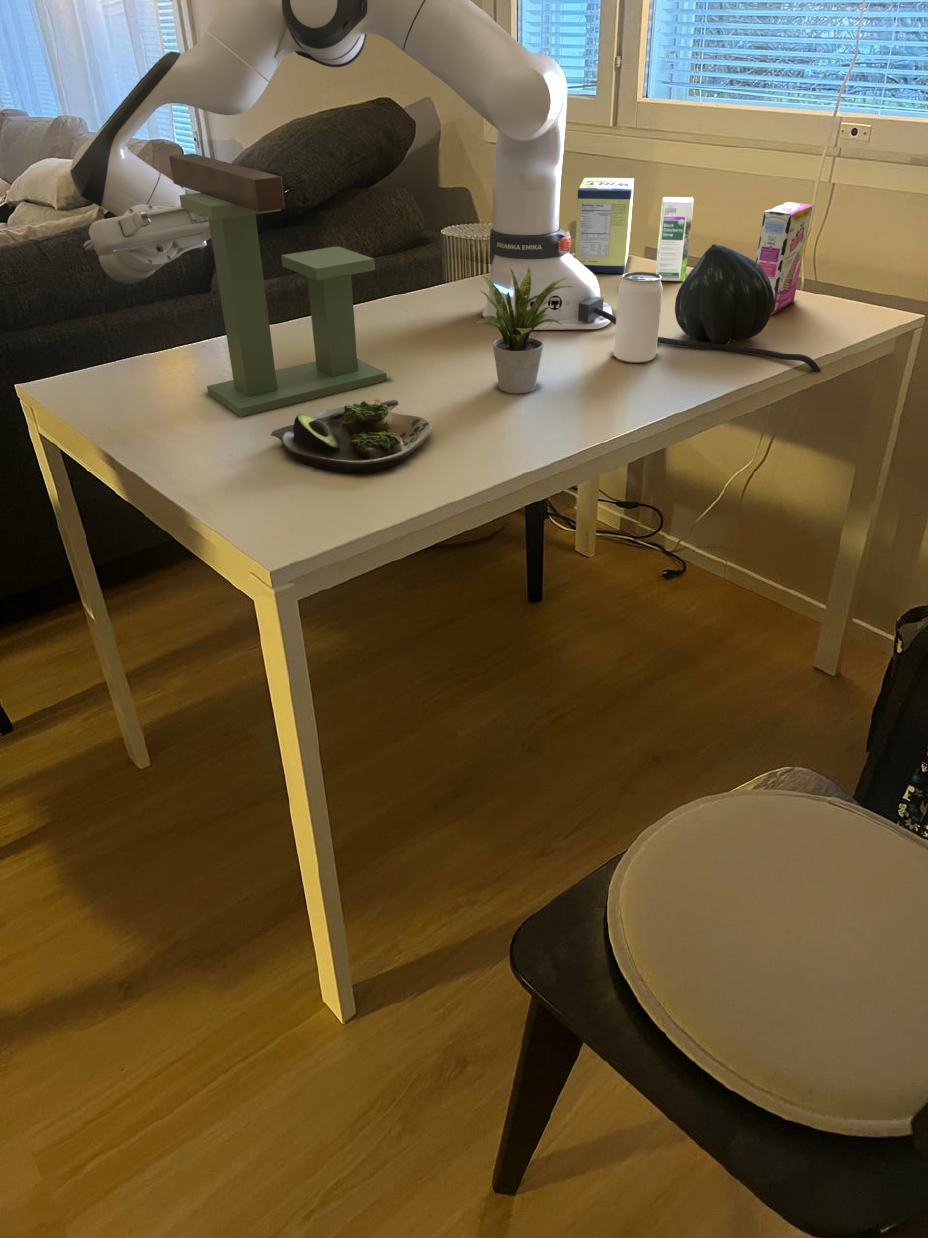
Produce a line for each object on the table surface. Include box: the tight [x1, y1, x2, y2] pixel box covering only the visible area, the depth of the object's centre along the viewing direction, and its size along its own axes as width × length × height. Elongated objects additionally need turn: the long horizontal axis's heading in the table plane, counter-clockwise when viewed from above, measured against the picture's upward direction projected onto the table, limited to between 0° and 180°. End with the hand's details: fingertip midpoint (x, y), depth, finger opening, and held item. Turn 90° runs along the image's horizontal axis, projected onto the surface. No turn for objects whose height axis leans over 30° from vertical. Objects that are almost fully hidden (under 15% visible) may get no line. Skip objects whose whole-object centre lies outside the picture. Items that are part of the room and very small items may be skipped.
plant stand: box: [179, 192, 388, 418], centre depth 125 cm, size 11×23×26 cm, turn 126°
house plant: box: [474, 268, 571, 394], centre depth 126 cm, size 14×14×16 cm
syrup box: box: [654, 196, 694, 282], centre depth 178 cm, size 6×6×14 cm
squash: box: [674, 243, 774, 344], centre depth 146 cm, size 14×15×15 cm
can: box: [613, 271, 664, 364], centre depth 139 cm, size 6×6×12 cm
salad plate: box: [270, 399, 433, 474], centre depth 115 cm, size 19×18×5 cm
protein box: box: [574, 176, 635, 274], centre depth 187 cm, size 10×16×16 cm
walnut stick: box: [168, 153, 286, 212], centre depth 115 cm, size 26×3×3 cm, turn 36°
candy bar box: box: [755, 201, 814, 316], centre depth 160 cm, size 11×5×16 cm, turn 144°
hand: (174, 211), depth 131 cm, fingers open, 8 cm apart
